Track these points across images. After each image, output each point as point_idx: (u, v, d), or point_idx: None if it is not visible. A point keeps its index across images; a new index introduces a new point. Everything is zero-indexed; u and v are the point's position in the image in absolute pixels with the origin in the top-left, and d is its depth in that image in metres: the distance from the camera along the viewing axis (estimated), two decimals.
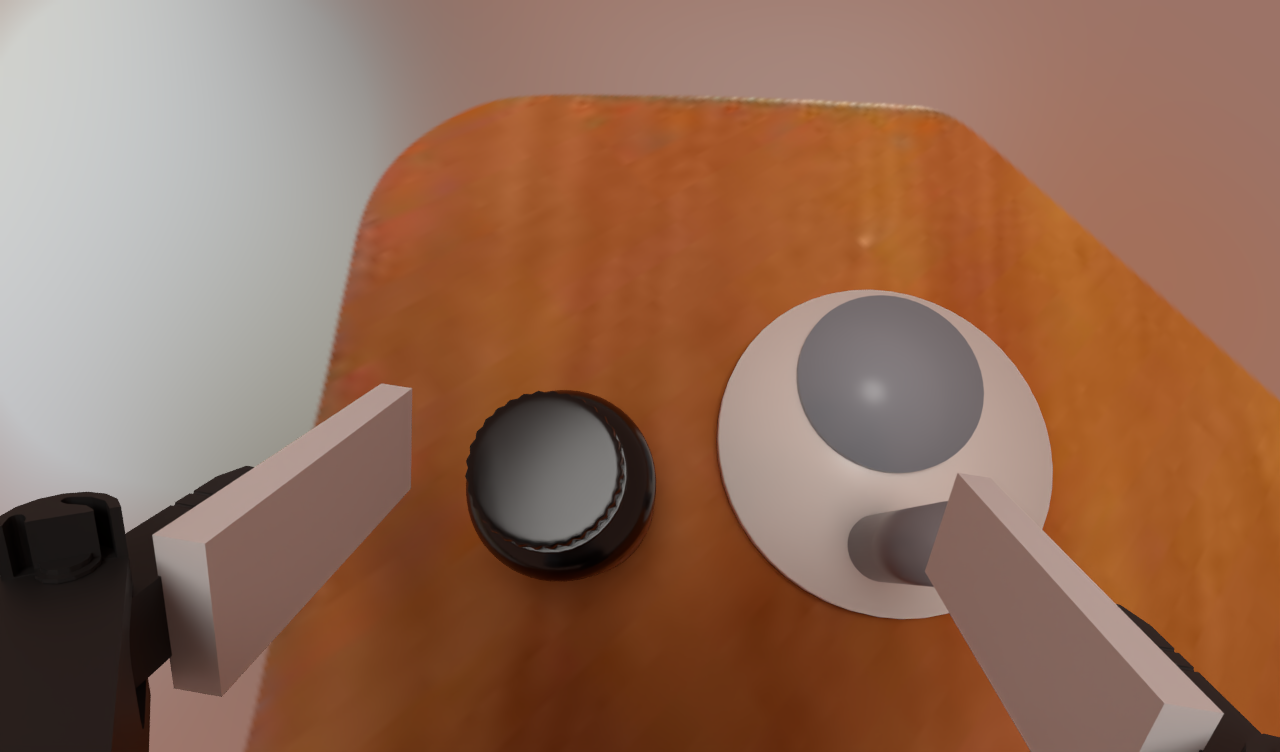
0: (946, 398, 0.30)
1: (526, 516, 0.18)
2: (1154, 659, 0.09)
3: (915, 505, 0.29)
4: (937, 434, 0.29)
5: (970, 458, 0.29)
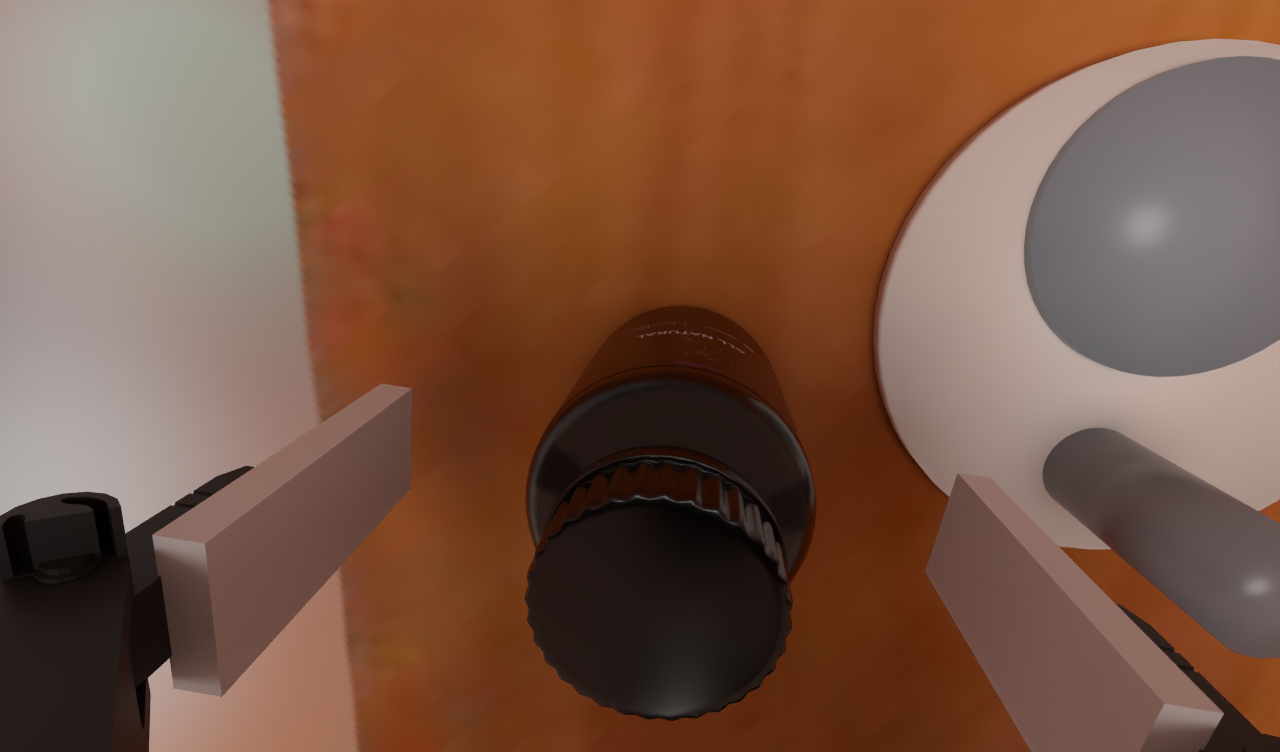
0: None
1: (632, 681, 0.11)
2: (1154, 659, 0.09)
3: (1162, 416, 0.20)
4: (1243, 320, 0.18)
5: (1279, 350, 0.19)
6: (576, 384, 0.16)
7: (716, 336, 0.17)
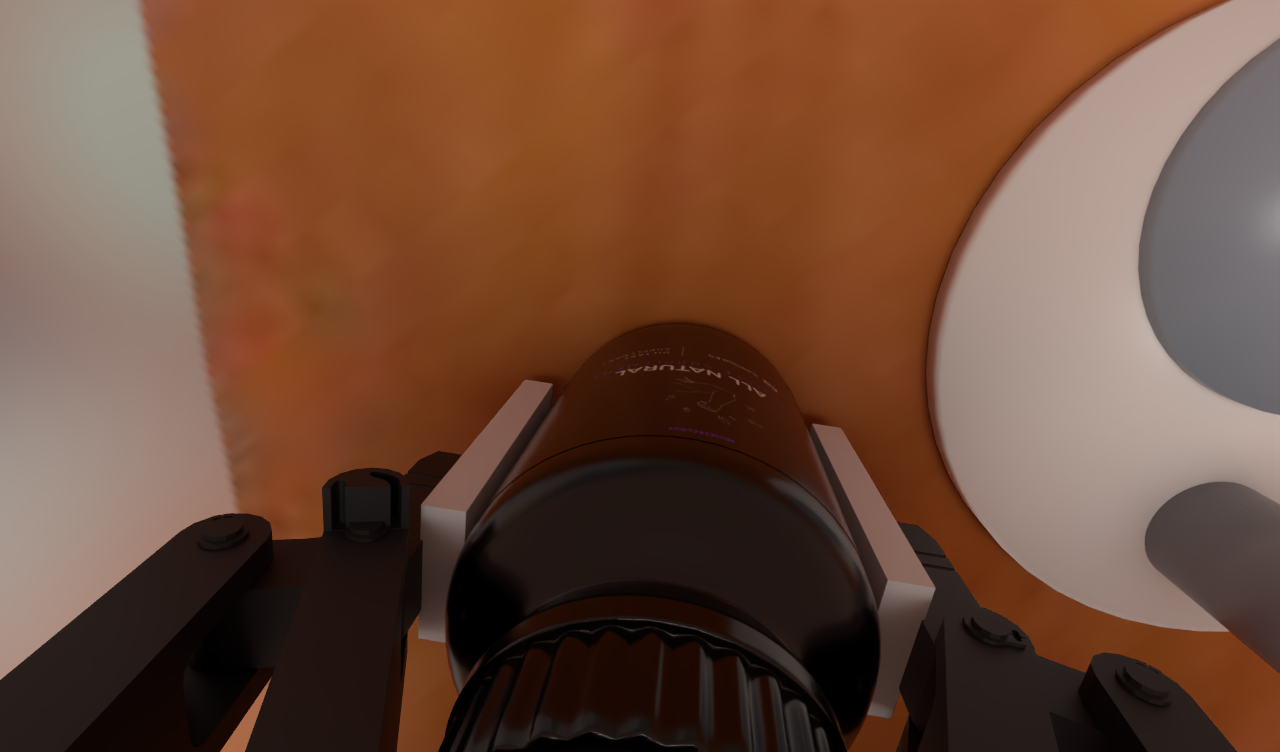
0: None
1: None
2: (901, 553, 0.10)
3: None
4: None
5: None
6: (529, 443, 0.12)
7: (726, 372, 0.12)
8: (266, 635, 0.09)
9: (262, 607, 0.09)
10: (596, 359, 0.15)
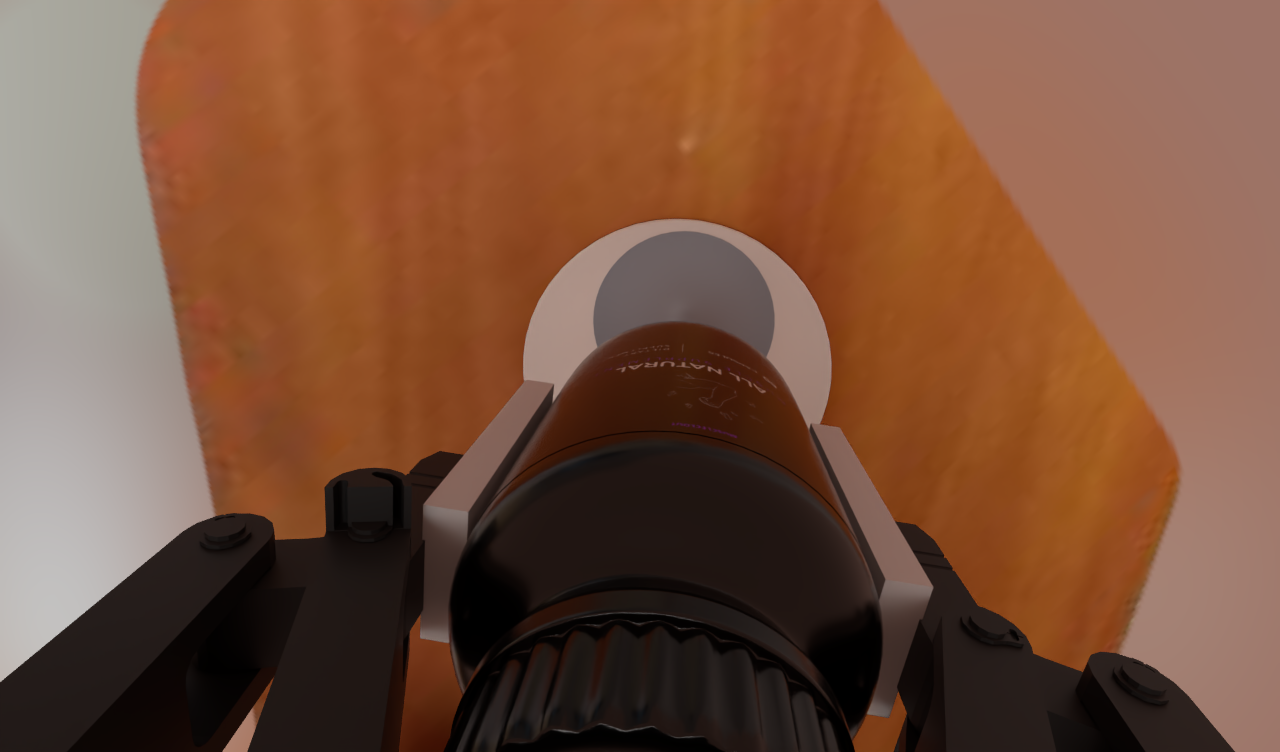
0: None
1: None
2: (899, 552, 0.10)
3: None
4: None
5: None
6: (530, 440, 0.12)
7: (726, 368, 0.12)
8: (268, 635, 0.09)
9: (264, 607, 0.09)
10: (595, 356, 0.15)
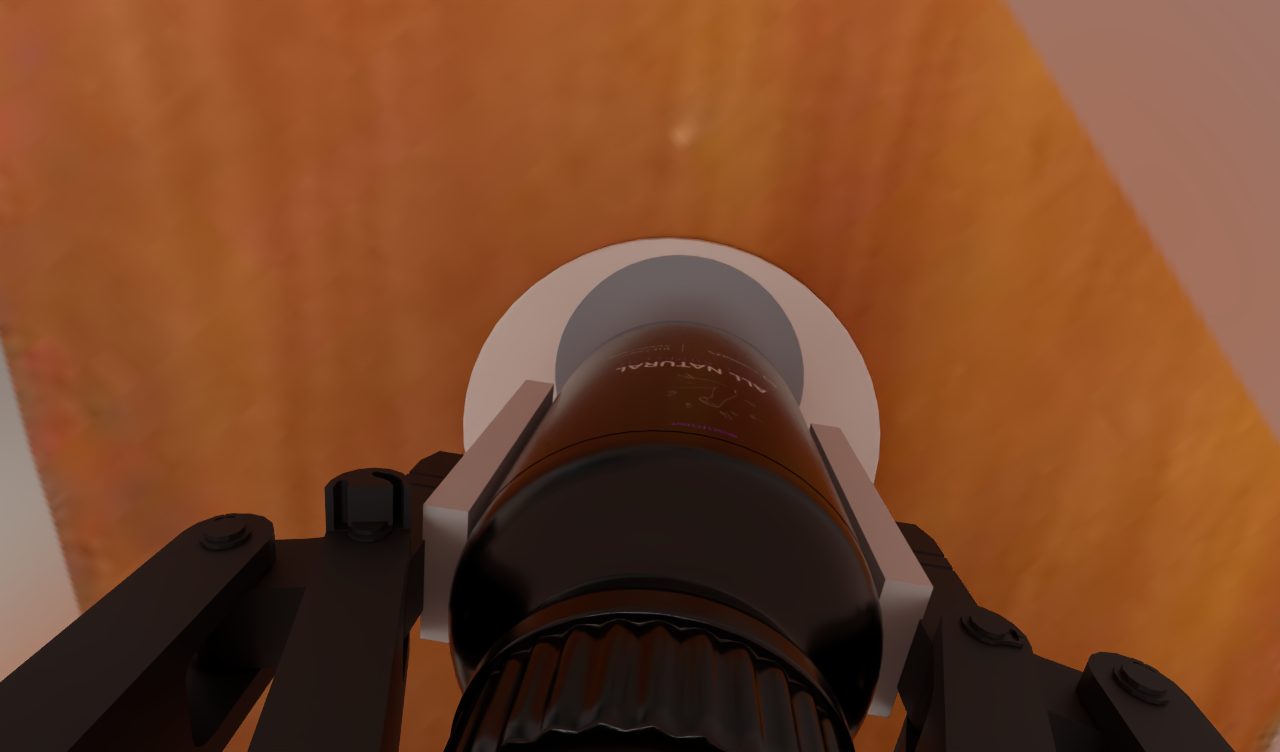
0: None
1: None
2: (899, 552, 0.10)
3: None
4: None
5: None
6: (530, 440, 0.12)
7: (726, 368, 0.12)
8: (268, 635, 0.09)
9: (264, 607, 0.09)
10: (595, 356, 0.15)
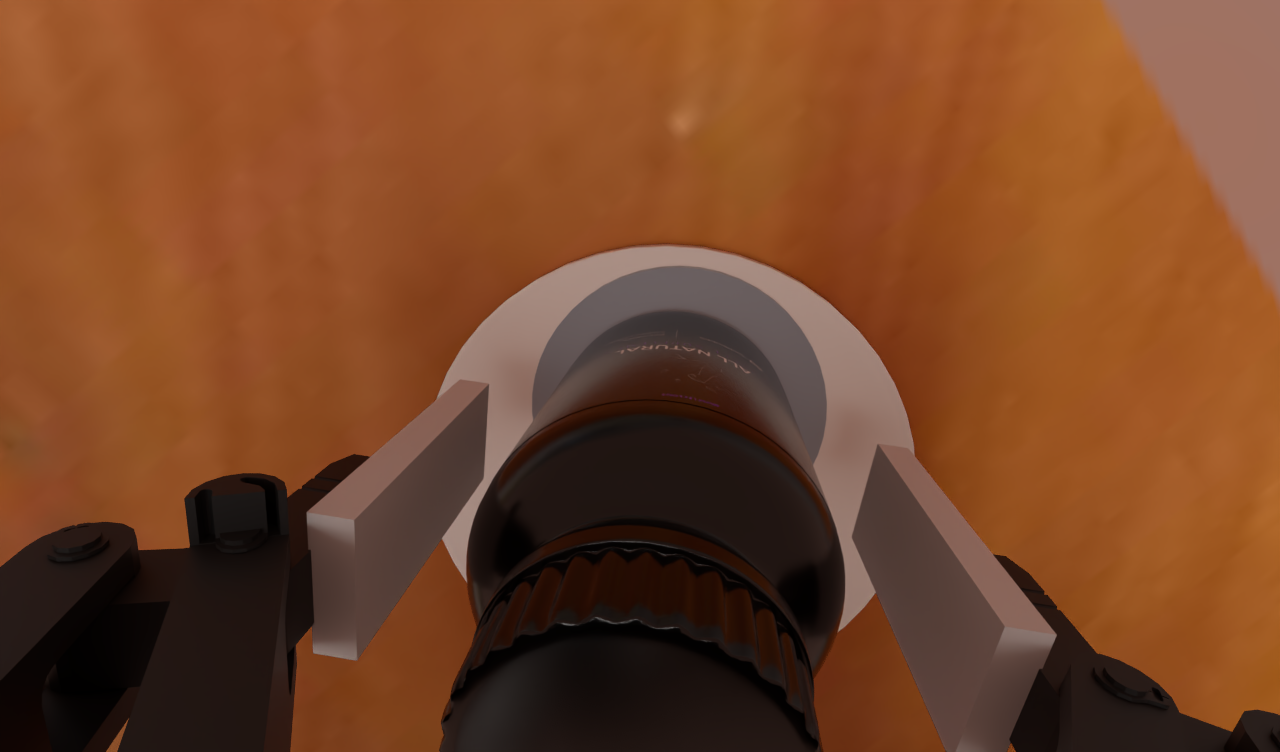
0: None
1: None
2: (1009, 593, 0.10)
3: None
4: None
5: None
6: (538, 414, 0.13)
7: (715, 351, 0.14)
8: (137, 646, 0.08)
9: (131, 617, 0.08)
10: (598, 342, 0.16)
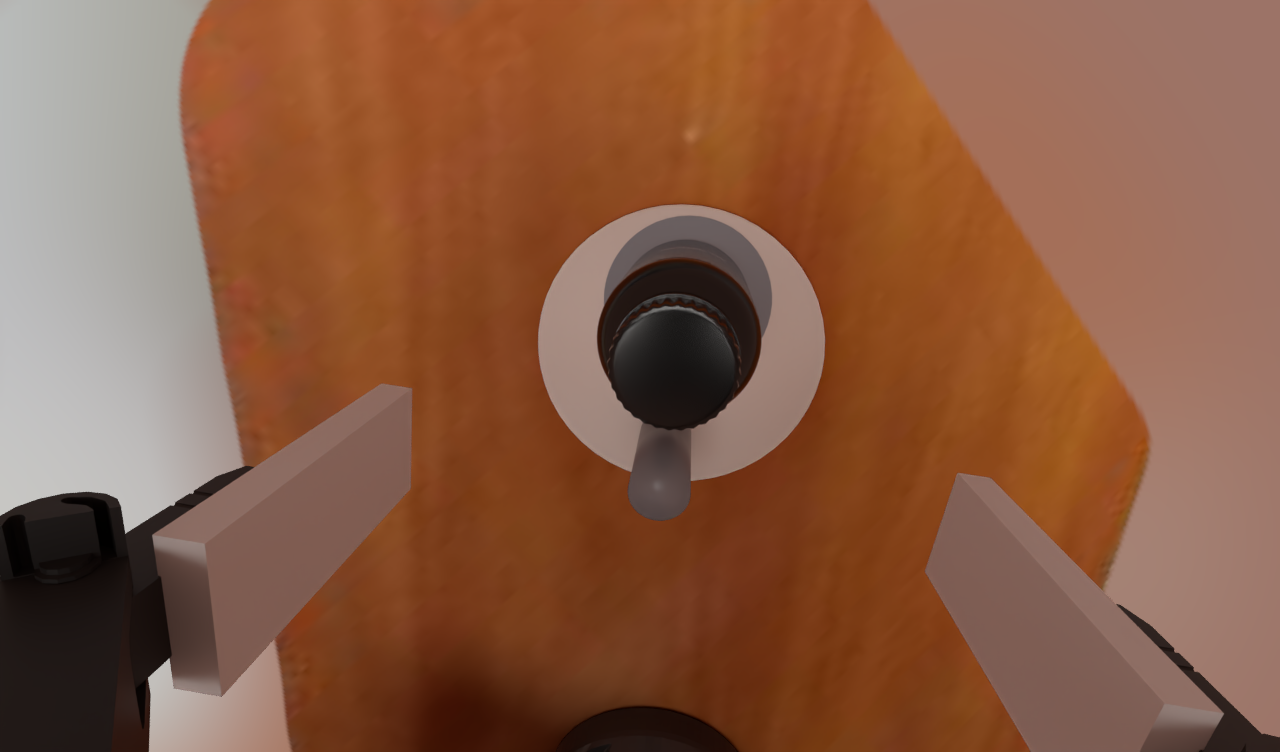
0: None
1: (661, 408, 0.22)
2: (1154, 659, 0.09)
3: None
4: None
5: None
6: None
7: (707, 251, 0.28)
8: None
9: None
10: (645, 253, 0.30)
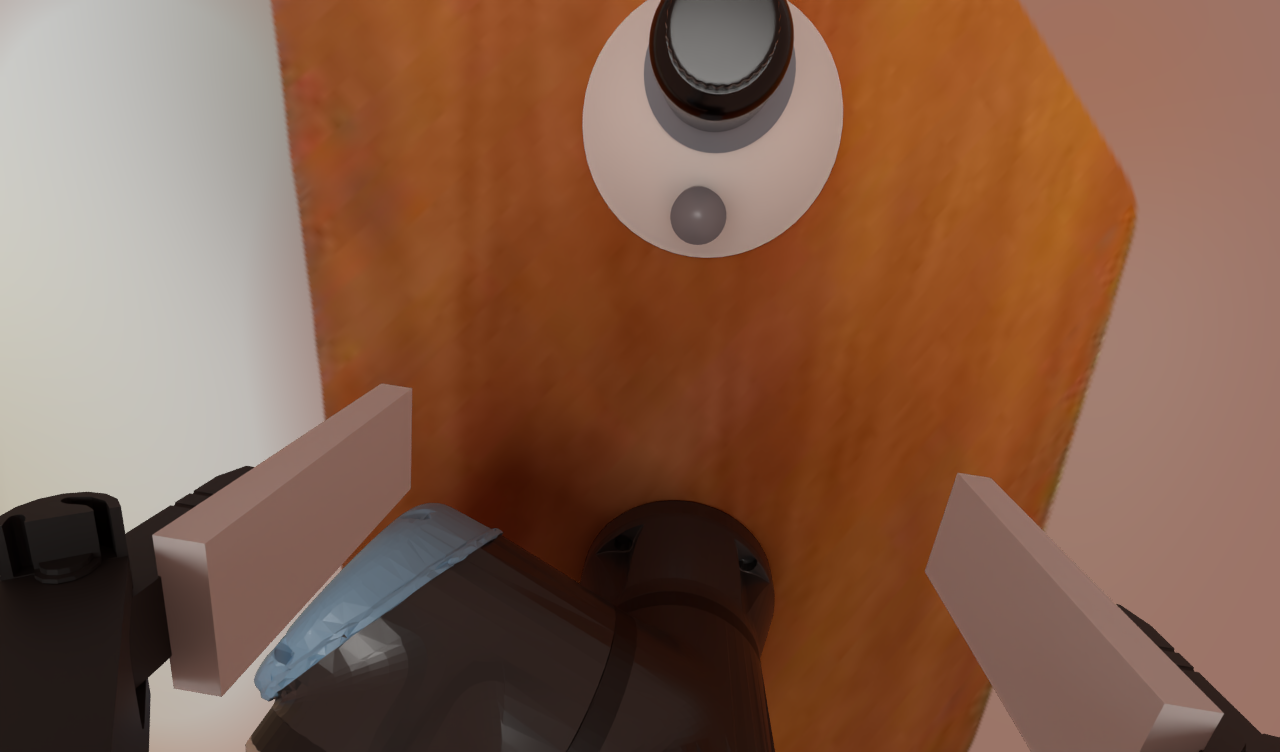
0: None
1: (711, 64, 0.26)
2: (1155, 659, 0.09)
3: (727, 178, 0.39)
4: (749, 120, 0.37)
5: (775, 139, 0.38)
6: None
7: None
8: None
9: None
10: None
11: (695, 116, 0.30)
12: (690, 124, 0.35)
